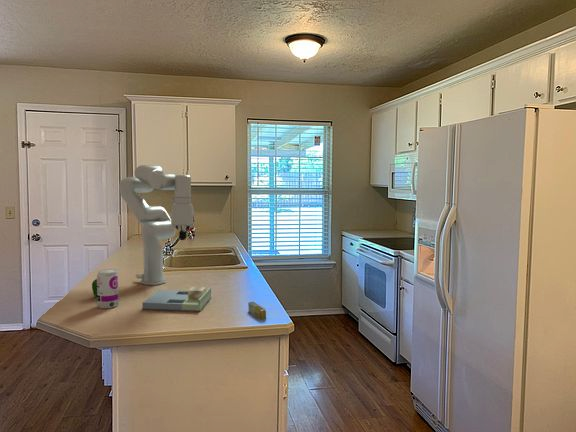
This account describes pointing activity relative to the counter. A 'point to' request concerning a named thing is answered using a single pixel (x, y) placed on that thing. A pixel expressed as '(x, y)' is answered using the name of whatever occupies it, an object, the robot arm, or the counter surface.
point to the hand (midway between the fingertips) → (182, 239)
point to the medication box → (257, 310)
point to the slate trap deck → (175, 301)
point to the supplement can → (107, 288)
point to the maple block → (196, 293)
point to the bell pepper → (94, 287)
